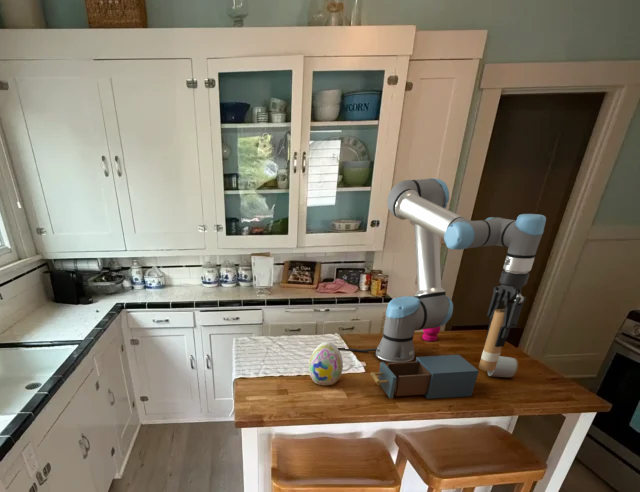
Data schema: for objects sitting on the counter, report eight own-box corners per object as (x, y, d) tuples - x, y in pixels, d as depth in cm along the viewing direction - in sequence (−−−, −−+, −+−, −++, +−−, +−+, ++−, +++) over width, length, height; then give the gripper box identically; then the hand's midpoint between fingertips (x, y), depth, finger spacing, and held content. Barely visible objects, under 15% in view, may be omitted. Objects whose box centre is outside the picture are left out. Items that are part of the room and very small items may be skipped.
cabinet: (427, 399, 145) (433, 373, 139) (411, 381, 156) (416, 356, 151) (471, 396, 146) (479, 370, 140) (452, 378, 157) (458, 354, 152)
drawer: (377, 399, 144) (380, 378, 139) (365, 382, 154) (368, 362, 150) (430, 395, 145) (435, 375, 141) (416, 379, 155) (420, 359, 151)
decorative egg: (304, 385, 155) (306, 347, 147) (312, 371, 164) (314, 334, 156) (337, 390, 151) (341, 351, 143) (344, 376, 161) (347, 338, 152)
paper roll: (475, 368, 148) (491, 311, 137) (482, 363, 151) (498, 307, 140) (491, 372, 145) (509, 314, 134) (497, 368, 148) (515, 310, 137)
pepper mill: (436, 342, 186) (446, 296, 175) (419, 339, 189) (428, 294, 178) (439, 337, 191) (449, 292, 180) (423, 334, 194) (432, 290, 183)
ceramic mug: (514, 381, 154) (521, 361, 150) (490, 379, 155) (496, 360, 151) (506, 369, 163) (512, 350, 159) (483, 367, 164) (488, 349, 160)
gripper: (488, 265, 137) (469, 334, 150) (522, 278, 122) (499, 354, 135) (510, 264, 138) (490, 332, 151) (547, 277, 123) (521, 352, 135)
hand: (494, 342), depth 143 cm, fingers closed on paper roll, 5 cm apart
